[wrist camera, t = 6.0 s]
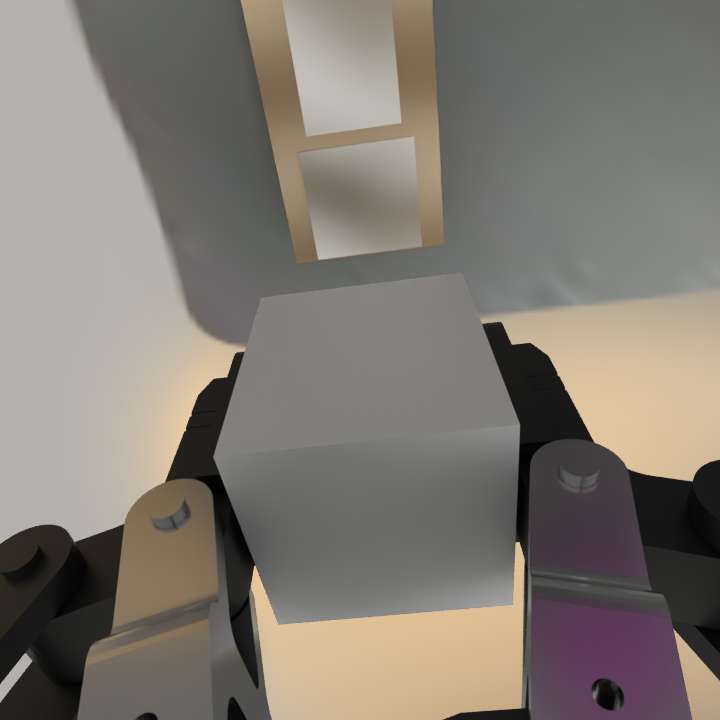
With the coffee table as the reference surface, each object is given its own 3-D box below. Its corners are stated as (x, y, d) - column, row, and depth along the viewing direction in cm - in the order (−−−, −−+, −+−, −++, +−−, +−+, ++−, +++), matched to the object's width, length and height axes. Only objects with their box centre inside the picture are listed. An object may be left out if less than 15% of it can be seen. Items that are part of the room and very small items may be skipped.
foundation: (216, -190, 17) (192, -222, 14) (409, -226, 17) (420, -265, 14) (302, 236, 25) (296, 264, 22) (435, 218, 24) (444, 246, 22)
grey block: (261, 297, 11) (213, 457, 7) (462, 272, 11) (520, 424, 7) (300, 444, 13) (278, 624, 9) (466, 427, 13) (513, 604, 9)
